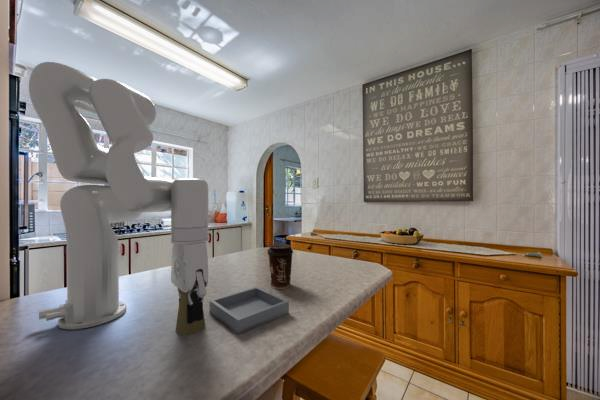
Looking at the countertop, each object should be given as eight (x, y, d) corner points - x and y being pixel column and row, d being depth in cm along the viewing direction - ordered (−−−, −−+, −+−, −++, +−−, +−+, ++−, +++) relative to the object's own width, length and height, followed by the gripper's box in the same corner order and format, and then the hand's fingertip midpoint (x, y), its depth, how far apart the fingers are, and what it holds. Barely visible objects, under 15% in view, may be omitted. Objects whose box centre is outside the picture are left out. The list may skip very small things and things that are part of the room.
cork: (198, 334, 52) (198, 282, 52) (169, 334, 52) (169, 282, 52) (209, 320, 58) (209, 273, 58) (183, 320, 58) (183, 273, 58)
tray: (238, 334, 52) (238, 320, 52) (209, 312, 62) (209, 300, 62) (288, 313, 62) (288, 301, 61) (257, 297, 72) (256, 286, 72)
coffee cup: (264, 282, 84) (264, 244, 84) (288, 279, 87) (288, 242, 87) (271, 291, 76) (270, 249, 76) (296, 288, 79) (296, 247, 79)
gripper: (160, 232, 58) (161, 310, 58) (186, 241, 46) (186, 339, 46) (193, 229, 64) (193, 301, 64) (224, 237, 51) (224, 325, 51)
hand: (190, 316), depth 55 cm, fingers open, 4 cm apart
